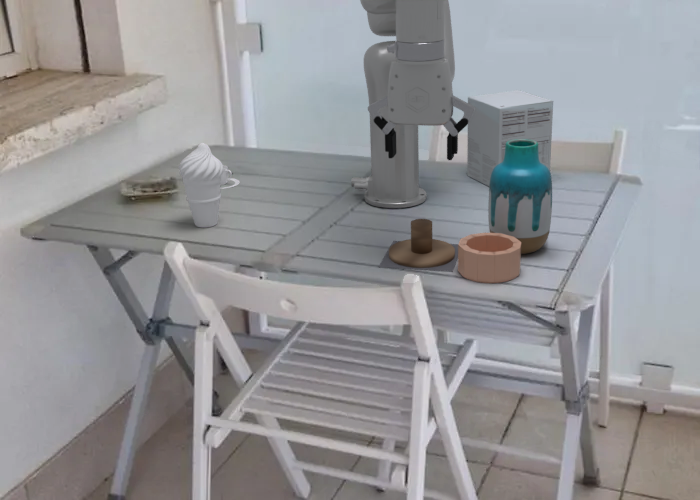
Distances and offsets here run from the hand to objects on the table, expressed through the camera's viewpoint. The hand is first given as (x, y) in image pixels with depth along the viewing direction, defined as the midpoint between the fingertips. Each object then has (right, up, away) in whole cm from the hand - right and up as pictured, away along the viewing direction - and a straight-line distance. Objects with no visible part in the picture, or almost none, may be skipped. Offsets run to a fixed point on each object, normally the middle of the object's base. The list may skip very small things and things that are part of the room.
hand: (421, 157), depth 154 cm
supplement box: (+22, 0, +47) cm, 52 cm away
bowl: (+11, -19, -1) cm, 22 cm away
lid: (+1, -16, +6) cm, 17 cm away
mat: (+1, -17, +7) cm, 18 cm away
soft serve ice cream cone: (-39, -10, +27) cm, 49 cm away
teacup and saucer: (-40, 0, +55) cm, 68 cm away
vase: (+17, -16, +9) cm, 25 cm away
